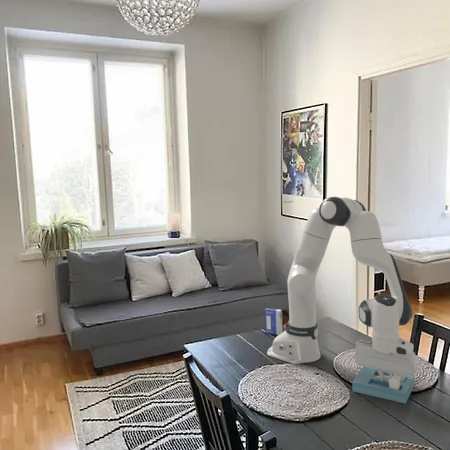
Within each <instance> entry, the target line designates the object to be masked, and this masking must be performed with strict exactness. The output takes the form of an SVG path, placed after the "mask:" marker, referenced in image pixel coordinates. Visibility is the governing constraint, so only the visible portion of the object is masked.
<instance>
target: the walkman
mask: <svg viewBox="0 0 450 450" xmlns="http://www.w3.org/2000/svg"><path fill="white" fill-rule="evenodd" d="M263 312H264V333H265V334H270V335H277V336H278V335H279V334H281V333H282V332H283V319H282V316H283V315H282V313H283V312H282V309H278V308H270V307H269V308H268V307H266V308H264V311H263Z"/></svg>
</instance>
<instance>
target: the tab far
mask: <svg viewBox="0 0 450 450" xmlns="http://www.w3.org/2000/svg"><path fill="white" fill-rule="evenodd" d="M394 373H395V375H397V376H398V377H400V381H404V382H405V381H406V374H401V373H396V372H394Z"/></svg>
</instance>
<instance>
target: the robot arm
mask: <svg viewBox="0 0 450 450" xmlns="http://www.w3.org/2000/svg"><path fill="white" fill-rule="evenodd" d="M336 227H345V228H346V229H348V231H349V236H350V237H349V238H350V245H351V252H352V256H353V257H354V258H355V260H356V261H358V262H359V263H360V264H362V265H365V266H368V267H371V268H373V269H376V270H377V271H380V272H382V273H383V274H384V276H385V278H386V282H387V286H388V289H389V292H390V295H388V294H378V295H376V296H374V298H370V299H363V300H362V301H361V302H360V304H359V306H358V319H359V321H360V322H361V324H362V323H363V325H365V326H366V327H368V328H371V329H372V331H371V340H369V339H368V340H367V339H362V338H359V339H357V340H356V341H355V344H354V345H355V350H356V351H355V361H354V362H355V364H357V366H362V367H369V368H374V369H377V372H378V374H379V375H380V377H381V381H383V382H388V383H389V378H390V377H391V376H392V374H393V372H394V373H395V372H396V373H401V374H406V375H409V376H414V377H415V375H416V374H417V372H418V361H417V360H418V359H417V356H416V353H415V352H414V349H415V348H414V343H412V342H410V341H408V340H406V339H403V338H402V337H400V333H399V327H400V326H406V325H407V324H408V323H409V322H410V321H411V319H413V308H412V305H411V302H410V301H409V299H408V296H407V293H406V290H405V287H404V283H403V280H402V277H401V274H400V271H399V267H398V265H397V262H396V259H395V257H394V256H393V255H392V254H391V253H389V252H388V251H387V250H386V248H385V245H384V242H383V238H382V231H381V228H380V225H379V220H378V218H377V215H376V214H375V213H373V212H372V211H368V210H366V207H365V206H364V203H362V202H360V201H358V200H356V199H352V198H348V197H339V196H330V197H327V198H325V199H323V200H322V201H321V203H320V205H319V207H316V208H314V209H313V210H312V211H311V213H310V215H309V216H308V218H307V220H306V222H305V225H304V228H303V230H302V233H301V237H300V240H299V243H298V246H297V247H296V248H297V249H296V252H295V255H294V258H293V261H292V264H291V266H290V269H289V272H288V277H287V285H286V286H287V297H288V311H289V312H288V317H289V318H288V319H289V320H288V322H286V323H285V324H284V325H283V329H285V330H284V331H282V333H281V334H279V335H277V336H276V337H275V338H274V339H273V341H272V345H271V346H270V347H268V349H267V352H266V354H267V356H268V357H271V358H275V359H277V360H280V361H284V362H287V363H288V364H289V363H290V364H292V365H299V364H300V365H301V364H304V363H305V364H308V363H312V362H317V361H318V360H319V359H320V358H321V355H322V354H321V352H320V348H319V344H318V333H319V331H318V330H319V328H318V323H317V303H316V302H317V301H316V300H317V299H316V278H317V274H318V273H319V269H320V266H321V263H322V262H323V260H324V256H325V254H326V251H327V248H328V246H329V245H328V244H329V242H330V239H331V237H332V234H333V231H334V229H335V228H336ZM382 370H384V371H388V374H389V376H386V375H384V374H383V372H382Z"/></svg>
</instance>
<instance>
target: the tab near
mask: <svg viewBox="0 0 450 450" xmlns="http://www.w3.org/2000/svg"><path fill="white" fill-rule="evenodd" d="M389 388H391V389H396V390H400V377H398V376H397V375H395V374H394V376H393V375H392V376H391V377H390V378H389Z"/></svg>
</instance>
